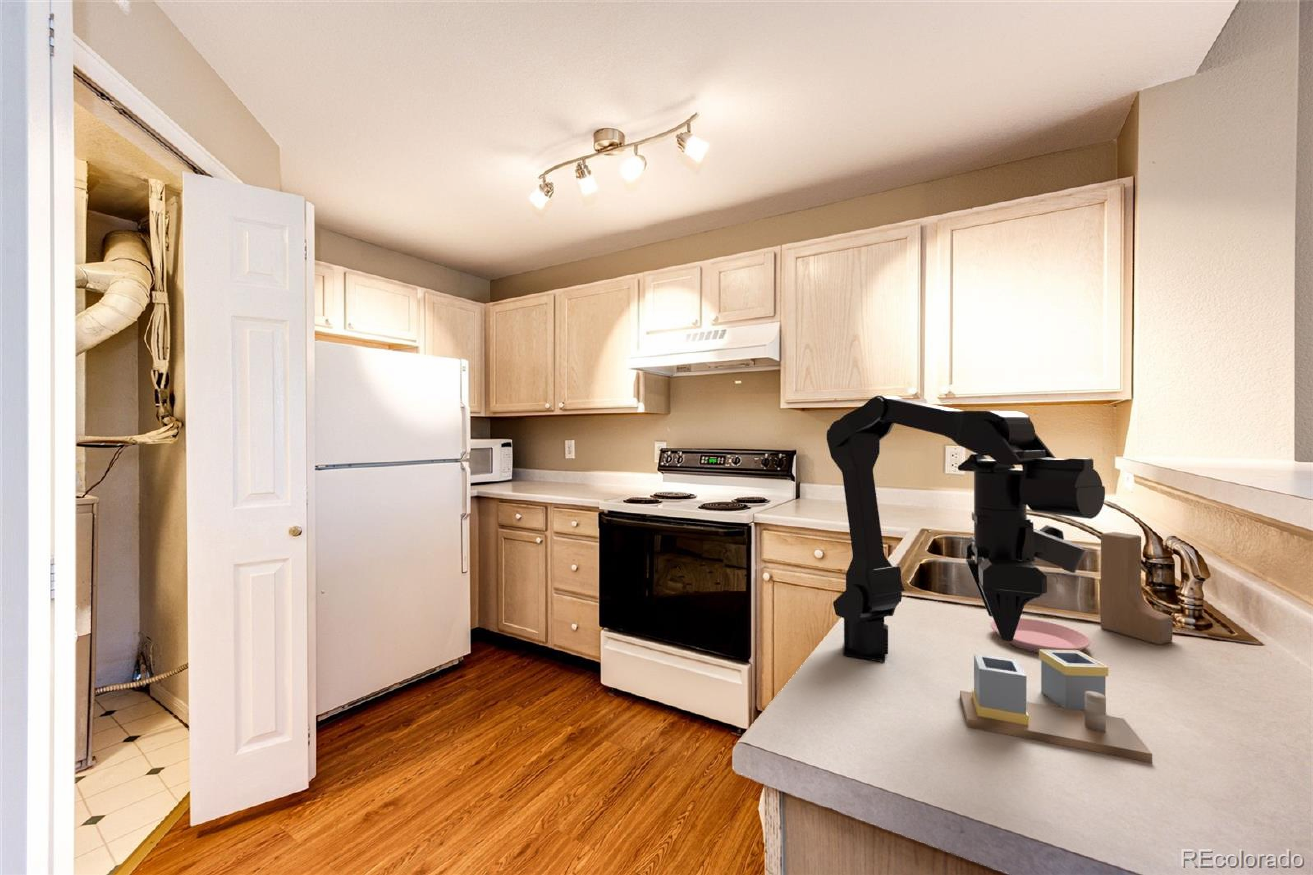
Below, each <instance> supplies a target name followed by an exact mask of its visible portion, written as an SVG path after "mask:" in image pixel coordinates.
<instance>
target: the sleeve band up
mask: <svg viewBox="0 0 1313 875" xmlns="http://www.w3.org/2000/svg"><path fill="white" fill-rule="evenodd" d="M1038 658H1039V659H1040V660H1041V662H1040V667H1041V668H1040V670H1041V672H1040V674H1041V675H1040V682H1041V683H1040V692H1041V693H1042V694H1043V695H1045V696H1046V697H1047V698H1049V699H1050V700H1051V701H1053V703H1055V704H1057V705H1058V707H1060V708H1065V709H1071V710H1077V711H1083V712H1085V692H1086V691H1093V692H1097V693H1100V694H1102V695H1104V696H1105V697H1106V682H1107V681H1106V677H1109V666H1106V665H1105V664H1103V663H1101V662H1100V661H1098V660H1097V659H1094V658H1093V657H1091V656H1089V655H1087V654H1086V653H1084V652H1082V651H1078V650H1039V653H1038Z"/></svg>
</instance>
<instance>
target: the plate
mask: <svg viewBox="0 0 1313 875" xmlns="http://www.w3.org/2000/svg"><path fill="white" fill-rule="evenodd" d="M990 628H991V629H992V630H993V631H994V632H995V633H996V634H998V636H999V637H1000V634H999V632H998V629H997V627H996V624H995V622H994V620H992V622H991V623H990ZM1005 642H1006V643H1009V644H1010V645H1012V646H1015V647H1017V648H1020V649H1023V650H1025V651H1030V652H1035V653H1038V654H1039V650H1078V651H1080V652H1082V650H1084V649H1086V648H1088V647H1089V646H1090V645H1091V639H1090V638H1089V637H1087V635H1085V634H1083V633H1082V632H1079V631H1078V630H1075V629H1073V628H1070V627H1067V626H1064V625H1061V624H1058V623H1054V622H1049V621H1044V620H1039V619H1033V618H1023V617H1020V620H1019V623H1018V626H1017V629H1016V632H1015V635H1014V638H1013V641H1005Z"/></svg>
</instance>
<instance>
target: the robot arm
mask: <svg viewBox="0 0 1313 875" xmlns="http://www.w3.org/2000/svg"><path fill="white" fill-rule="evenodd" d="M894 425H900V426H905V427H908V428H913V429H917V430H920V431H924V432H928V433H932V434H935V435H941V436H943V437H946V438H948V439H950V440H952V441H953V442H954V443H955V444H956V445H957V446H959V447H961V448H964V449H965V450H968V451H970V452H973V453H971V454H970V455H969V456H968V458H966V460H964V461H962V462H961V463H960V464H958V466H957V470H958V471H959V472H971V473H972V472H973V511H971V520H972V521H973V536H970V537H969V538H967V540H965V541H964V542H963V556H964V558H965V562H966V565H967V566H968V569H969V571H970V574H971V576H972V579H973V581H974V583H975V585H976V588H977V590H978V593H979V595H980V597H981V599H982V603H983V605H984V608H985V609H986V612H987V613H988V616H989V617H991V618H992V619H993V621H994V622H995V624H996V627H997V629H998V632H999V634H1000V636H999V637H1000V639H1001V641H1005V642H1006V641H1013V638H1014V635H1015V632H1016V629H1017V626H1018V623H1019V620H1020V618H1022V617H1021V616H1022V614H1023V611H1024V608H1025V606H1026V604H1027V603H1028V602H1030V601H1032V600H1034V599H1037V598H1041V597H1042V595H1043V594H1047V593H1048V581H1047V580H1048V579H1047V578H1048V577H1047V575H1046V574H1045V573H1043V571H1042V570H1041V569H1039V568H1038V567H1037V566H1036V565H1035V564H1034V563H1035V558H1036V559H1039V560H1042V561H1044V562H1047V563H1050V564H1052V565H1055V566H1058V567H1060V568H1062V570H1063V571H1066V572H1070V573H1071V574H1076V572H1077V570H1078V567H1079V565H1080V563H1081V561H1082V559H1083V556H1084V555H1085V553H1086V549H1085V548H1084V547H1082V546H1080V545H1078V544H1077V543H1074V542H1072V541H1070V540H1066V539H1065V537H1064V531H1063V530H1061V529H1060V528H1056V527H1054V526H1051V525H1050V524H1049V525H1048V524H1046V525H1045V526H1043V527H1041V528H1040V529H1037V528H1034V527H1035V526H1034V521H1032V519H1031V518H1029V517H1028V515H1027V507H1028V508H1029V510H1031V511H1032V512H1035V513H1040V514H1041V513H1042V514H1049V515H1057V516H1065V517H1071V518H1072V517H1073V518H1080V519H1089V520H1092V519H1094V518H1096V517H1097V516H1098V515H1100V513H1101V511H1102V509H1103V506H1104V503H1105V498H1106V487H1105V486H1104V485H1103V481H1102V478H1101V476H1100V474H1099V473H1098V471H1097V470H1095V469H1094V459H1093V458H1089V457H1088V458H1087V457H1077V458H1076V457H1075V458H1073V457H1072V458H1066V459H1065V458H1057V457H1056V456H1055V455H1054V454H1053V453H1052V452H1051V450H1050V449H1049V448H1048V447H1047V446H1046V444H1045V443H1044V442H1043V440H1042V439H1041V438H1040V437H1039V436H1038V434H1037V433H1036V430H1035V426H1034V423H1033V421H1032V420H1031V417H1030V416H1029V415H1028V414H1026V413H1023V412H1020V411H1009V410H1006V411H1005V410H1004V411H1003V410H1001V411H1000V410H961V409H955V408H951V407H947V406H941V405H936V404H931V403H926V402H920V401H915V400H909V399H905V398H901V397H899V396H898V395H876V396H874V397H871V398H870V399H869V400H868V401H866V402H865V403H864V404H863V405H861V406H858V408H856V409H854V410H851V411H850V412H848V413H846V414H845V415H843V416H842V417H841V418H839V419H837V420H835V421H833V423H832V424H831V425H830V426H829V429H827V430H826V442H827V446H828V449H829V454H830V457H831V459H832V461H833V462H834V463H835V465H836V466H837V468H838V469H839V470H840V472H841V475H842V480H843V489H844V498H845V504H846V511H847V513H846V514H847V521H848V527H849V528H848V529H849V530H848V531H849V535H850V536H849V538H850V544H851V545H850V546H851V552H852V558H851V561H850V563H849V566H848V568H847V570H846V572H845V590H844V591H843V592H842V593H841V594H840V595H839V596H838V597H836V598H835V600H834V601H833V602H832V606H833V609H834V613H835V615H836V616H838V617H840V618H842V619H843V646H842V647H843V648H842V651H841V652H842V655H843V656H845V657H846V656H847V657H852V658H856V659H857V658H860V659H865V660H871V661H878V662H885V661H886V656H887V655H888V654H889V625H888V624H886V623H885V617H893V616H894V614H895V612H896V609H897V606H898V605H899V604H900V603H901V602H902V598H903V592H905V587H904V585H903V582H902V570H901V567H900V566H899V565H892V563H891V562H890V561H889V560H888V558H887V557H886V555H885V550H884V544H883V543H884V542H883V541H884V540H883V536H882V527H881V521H880V513H879V507H878V499H877V492H876V491H877V490H876V484H875V475H874V468H875V465H876V463H877V461H878V458H879V457H880V456H879V455H880V444H881V443H880V442H881V440H882V439H885V437H886V436H888V435H889V434H890V433H891V431H892V429H893V427H894ZM986 456H988V457H990V458H991V459H989V458H987V457H986ZM1015 466H1022V468H1016V467H1015Z"/></svg>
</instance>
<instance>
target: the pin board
mask: <svg viewBox="0 0 1313 875" xmlns="http://www.w3.org/2000/svg"><path fill="white" fill-rule="evenodd" d="M959 699H960V703H961V706H962V711H963V714H964V718H965V721H966V722H965V723H966V726H967V727H968V728H971V729H978V730H982V731H988V732H993V733H998V734H1003V735H1008V736H1014V737H1019V738H1025V739H1029V740H1033V741H1034V740H1035V741H1039V742H1045V743H1049V744H1055V745H1060V746H1064V747H1070V748H1075V749H1080V750H1085V751H1091V752H1096V753H1100V754H1105V755H1106V754H1107V755H1111V756H1115V755H1116V757H1121V758H1127V759H1132V760H1137V761H1141V762H1147V763H1151V764H1153V752H1151V750H1150V749H1149V747H1147V746H1146V744H1145V743H1144V741H1142V739H1141V738H1140V737H1139V735H1137V733H1136V732H1135V731H1134V729H1133V728H1132V727H1131V725H1130V724H1129V723H1128V721H1127V720H1126V719H1125V718H1124V717H1116V716H1111V715H1107V696H1106V695H1105V696H1104V695H1102V694H1100V693H1097V692H1093V691H1086V692H1085V711H1077V710H1071V709H1065V708H1062V707H1061V706H1053V705H1048V704H1041V703H1035V702H1030V701H1026V711H1027V713H1028V715H1029V725H1024V724H1019V723H1013V722H1008V721H1003V720H997V719H992V718H987V717H981V716H978V715H977V711H976V708H975V705H974V701H973V698H972V691H971V692H970V691H966V690H959Z"/></svg>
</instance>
